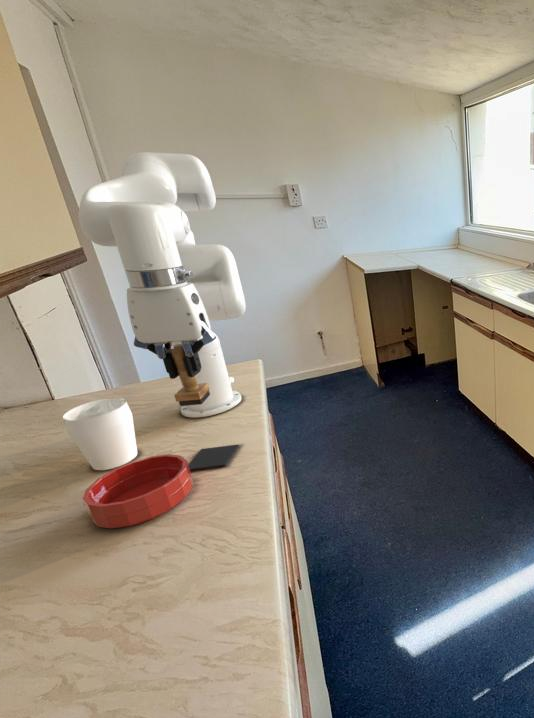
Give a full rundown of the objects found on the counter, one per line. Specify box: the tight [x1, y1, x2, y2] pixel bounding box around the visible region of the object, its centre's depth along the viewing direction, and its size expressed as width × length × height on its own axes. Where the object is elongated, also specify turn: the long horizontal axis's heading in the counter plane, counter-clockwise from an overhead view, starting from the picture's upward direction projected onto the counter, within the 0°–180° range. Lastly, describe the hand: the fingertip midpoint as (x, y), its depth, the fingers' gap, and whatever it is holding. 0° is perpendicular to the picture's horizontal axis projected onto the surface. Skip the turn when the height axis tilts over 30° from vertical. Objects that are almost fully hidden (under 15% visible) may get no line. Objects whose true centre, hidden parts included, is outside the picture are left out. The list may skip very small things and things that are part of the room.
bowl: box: [82, 453, 194, 529], centre depth 69 cm, size 13×13×5 cm
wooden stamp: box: [169, 344, 210, 407], centre depth 75 cm, size 4×4×12 cm
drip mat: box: [188, 444, 240, 472], centre depth 81 cm, size 7×7×1 cm
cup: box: [62, 397, 138, 471], centre depth 79 cm, size 9×9×12 cm
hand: (185, 374), depth 74 cm, fingers closed on wooden stamp, 2 cm apart
